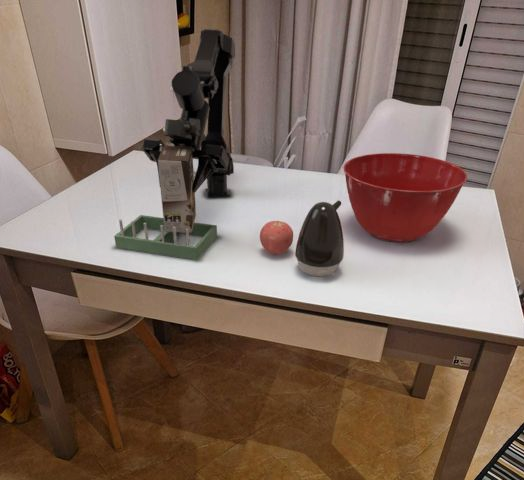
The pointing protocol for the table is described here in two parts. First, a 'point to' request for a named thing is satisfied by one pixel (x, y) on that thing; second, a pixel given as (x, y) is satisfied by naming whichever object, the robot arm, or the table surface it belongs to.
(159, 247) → the dish rack
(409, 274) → the table surface
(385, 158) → the mixing bowl
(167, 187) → the coffee box
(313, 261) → the pump dispenser
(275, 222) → the apple
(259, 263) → the table surface
